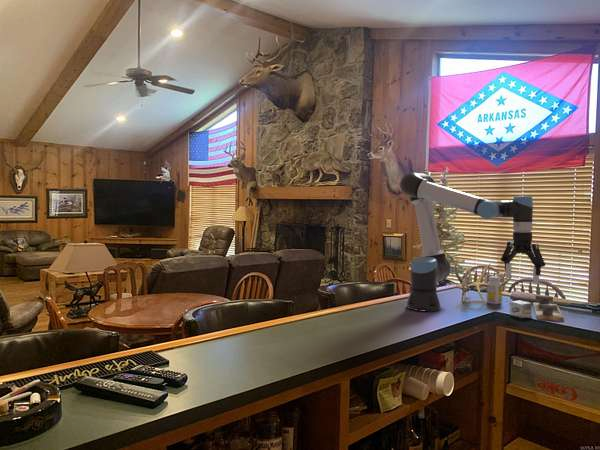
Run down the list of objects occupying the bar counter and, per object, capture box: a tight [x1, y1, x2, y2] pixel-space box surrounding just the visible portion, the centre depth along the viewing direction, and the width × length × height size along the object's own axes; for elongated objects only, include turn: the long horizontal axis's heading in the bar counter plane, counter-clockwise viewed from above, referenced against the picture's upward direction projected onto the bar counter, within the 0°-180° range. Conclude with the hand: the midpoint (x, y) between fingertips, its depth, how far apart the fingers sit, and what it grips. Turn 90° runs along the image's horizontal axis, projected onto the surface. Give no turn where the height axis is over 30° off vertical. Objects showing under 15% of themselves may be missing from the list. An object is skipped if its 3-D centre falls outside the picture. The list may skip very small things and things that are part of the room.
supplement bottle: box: [486, 275, 503, 305], centre depth 221 cm, size 7×7×13 cm
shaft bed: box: [532, 294, 565, 322], centre depth 201 cm, size 10×26×6 cm, turn 156°
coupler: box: [509, 299, 533, 319], centre depth 197 cm, size 6×9×6 cm, turn 116°
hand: (521, 280), depth 196 cm, fingers open, 13 cm apart
